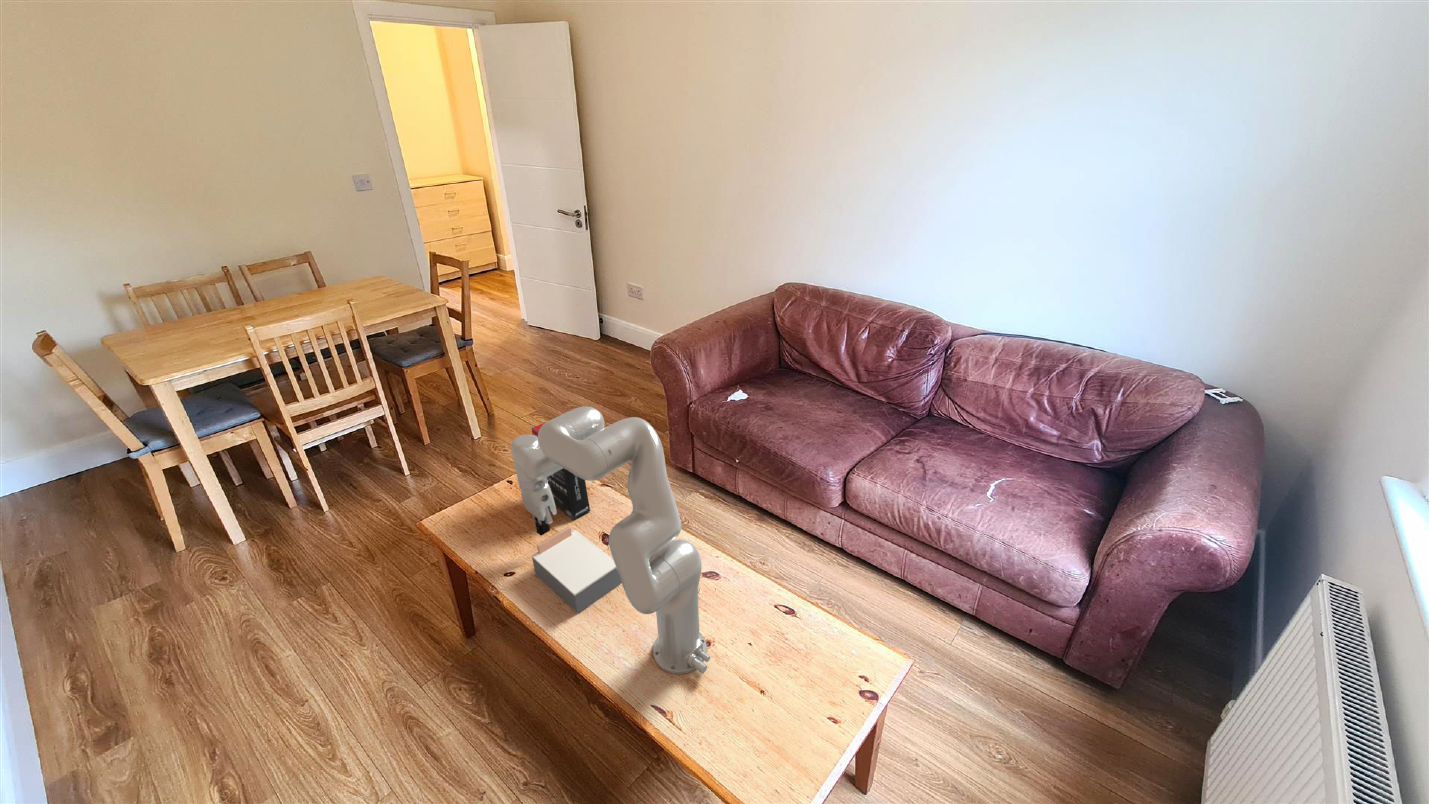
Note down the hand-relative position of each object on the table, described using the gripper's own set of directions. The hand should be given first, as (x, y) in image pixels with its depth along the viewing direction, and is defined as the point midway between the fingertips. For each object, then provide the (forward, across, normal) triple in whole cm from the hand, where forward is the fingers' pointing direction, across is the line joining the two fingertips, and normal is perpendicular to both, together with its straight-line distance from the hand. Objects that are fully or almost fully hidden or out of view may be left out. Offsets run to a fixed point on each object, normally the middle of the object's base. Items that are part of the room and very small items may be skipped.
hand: (543, 531), depth 161 cm
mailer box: (+8, -15, 0) cm, 17 cm away
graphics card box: (+8, +14, -16) cm, 23 cm away
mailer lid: (+1, -15, 0) cm, 15 cm away
